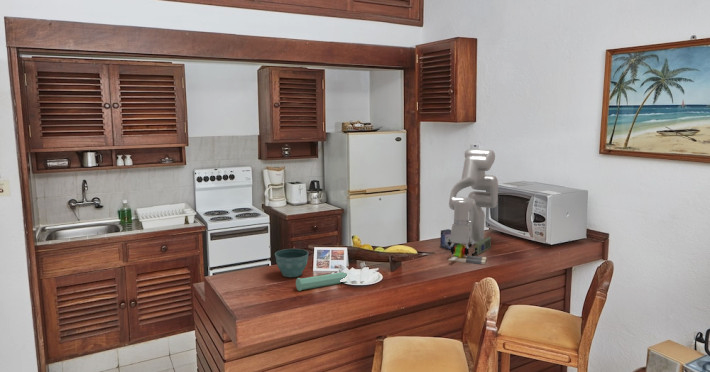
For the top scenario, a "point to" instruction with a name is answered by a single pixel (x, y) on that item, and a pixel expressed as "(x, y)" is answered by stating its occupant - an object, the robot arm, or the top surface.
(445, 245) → the small box
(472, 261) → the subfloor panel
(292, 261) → the flower pot
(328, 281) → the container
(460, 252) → the toy measuring tape
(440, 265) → the top surface
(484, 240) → the handheld radio
